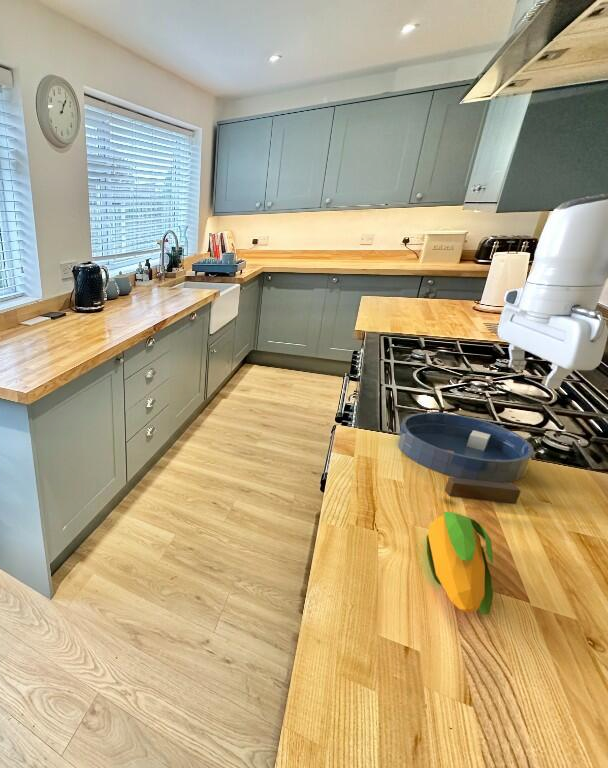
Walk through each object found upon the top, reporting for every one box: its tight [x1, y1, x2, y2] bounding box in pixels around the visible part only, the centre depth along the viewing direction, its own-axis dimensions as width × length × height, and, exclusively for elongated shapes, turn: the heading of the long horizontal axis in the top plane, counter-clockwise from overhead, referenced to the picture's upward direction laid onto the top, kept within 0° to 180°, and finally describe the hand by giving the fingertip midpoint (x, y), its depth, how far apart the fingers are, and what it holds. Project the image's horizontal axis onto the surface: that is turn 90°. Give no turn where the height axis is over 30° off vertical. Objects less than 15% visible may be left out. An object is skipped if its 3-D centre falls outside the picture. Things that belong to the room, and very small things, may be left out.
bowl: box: [396, 412, 535, 484], centre depth 90 cm, size 21×21×6 cm
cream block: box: [467, 430, 491, 451], centre depth 93 cm, size 3×3×3 cm
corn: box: [426, 511, 494, 616], centre depth 60 cm, size 7×8×20 cm
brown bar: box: [444, 476, 522, 505], centre depth 77 cm, size 10×2×4 cm, turn 73°
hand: (531, 377), depth 74 cm, fingers open, 8 cm apart
